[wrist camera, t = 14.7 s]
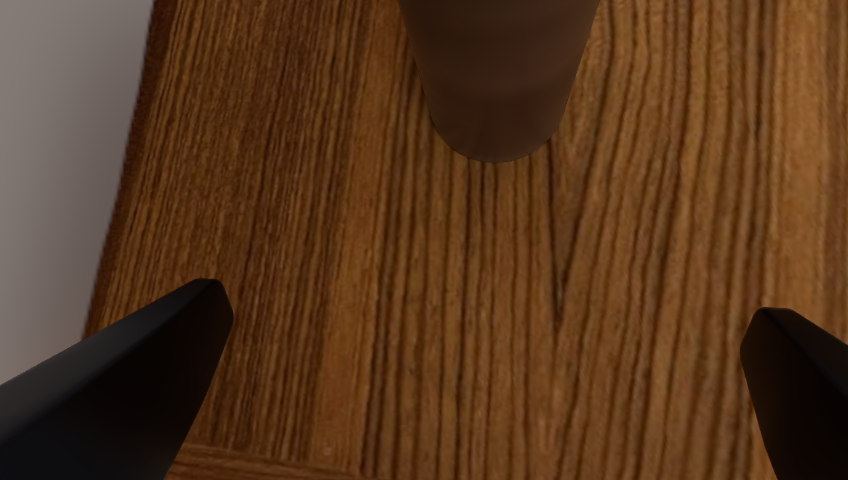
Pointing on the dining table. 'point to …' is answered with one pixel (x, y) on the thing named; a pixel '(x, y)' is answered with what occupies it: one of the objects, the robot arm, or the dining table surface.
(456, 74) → the pepper mill
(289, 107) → the dining table surface
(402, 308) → the dining table surface
